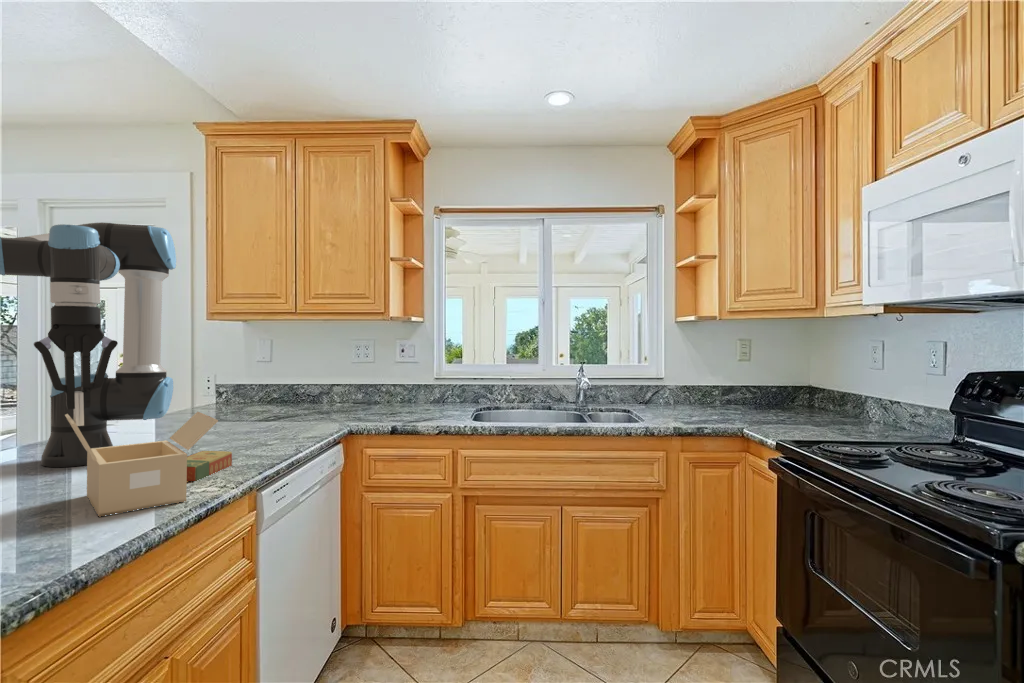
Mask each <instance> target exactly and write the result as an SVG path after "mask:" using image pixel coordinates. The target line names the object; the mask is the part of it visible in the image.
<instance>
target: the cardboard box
mask: <svg viewBox="0 0 1024 683" xmlns="http://www.w3.org/2000/svg"><path fill="white" fill-rule="evenodd" d="M91 450H92V452H93V453H94V455H95V457H96V458H97V460H96V461H94V460H93V459H92V458H91V456H90V455H89V453H88V452H87V465H86V468H87V469H86V497H87V499H88V498H89V499H88V500H90V501H89V502H90V504H91V506H92V508H93V507H94V508H93V510H94V509H95V510H94V511H96V512H95V513H96V515H97V514H98V515H97V517H98V516H99V517H100V518H102V517H101V516H105V515H110V514H115V513H122V514H124V513H123V512H127V511H133V510H137V509H142V508H143V509H144V508H149V507H154V506H160V505H165V504H171V503H177V504H180V503H179V502H183V503H185V502H184V501H186V502H187V485H188V484H187V483H188V482H187V456H188V453H186V452H184V451H183V450H182V449H181V448H178V447H177V446H176V445H174V444H173V443H171V442H170V441H168V440H158V441H150V442H140V443H131V444H121V445H113V446H110V447H101V448H91ZM149 509H150V508H149ZM144 510H145V509H144ZM133 512H134V511H133ZM127 513H128V512H127ZM99 517H98V518H99ZM105 517H106V516H105Z"/></svg>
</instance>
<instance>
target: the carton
mask: <svg viewBox="0 0 1024 683" xmlns="http://www.w3.org/2000/svg"><path fill="white" fill-rule="evenodd" d="M232 464H233V453H232V451H226V450H225V451H224V450H223V451H222V450H201V451H199V452H195V453H193V454H190V455H187V481H197V480H199V479H201V480H203V479H205V478H207V477H206V476H208V477H210V476H212V475H214V474H216V473H219V472H221V471H223V470H225V469H227V468H229V466H230V467H232V466H233V465H232ZM222 469H223V470H222ZM220 470H221V471H220ZM218 471H219V472H218ZM215 472H216V473H215ZM213 473H214V474H213ZM211 474H212V475H211ZM209 475H210V476H209ZM204 477H205V478H204ZM202 478H203V479H202ZM199 481H200V480H199ZM197 482H198V481H197Z"/></svg>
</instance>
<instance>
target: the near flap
mask: <svg viewBox="0 0 1024 683" xmlns="http://www.w3.org/2000/svg"><path fill="white" fill-rule="evenodd" d="M65 416H66V418H67V420H68V421H69V423H70V425H71V426H72V428H73V430H74V431H75V433H76V435H77V436H78V438H79V440H80V441H81V443H82V445H83V446H84V448H85V449H86V451H87V452H88V453H89V455H90V456H91V458H92V459H93V460H94V461H96V460H97V458H96V457H95V455H94V453H93V452H92V450H91V448H90V447H89V445H88V443H87V442H86V440H85V438H84V437H83V435H82V433H81V432H80V430H79V428H78V426H77V425H76V423H75V422H74V421H73V420H72V418H71V417H70V416H69V415H68V414H65Z"/></svg>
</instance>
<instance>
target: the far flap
mask: <svg viewBox="0 0 1024 683" xmlns="http://www.w3.org/2000/svg"><path fill="white" fill-rule="evenodd" d="M218 422H219V420H218V419H217V418H215V417H212V416H210V415H207V414H205V413H202V412H200V411H197V412H196V413H194V414H193V415H192V416H191V417H190V418H189V419H188V420H187V421H186V422H185V423H184V424H183V425H182V426H181V427H180V428H178V429H177V431H175V432H174V433H173V434H172V435H171V436H170V437H169V439H171V440H172V441H173V442H175V443H176V444H178V445H179V446H181V447H182V448H184V449H185V450H187V451H189V450H190V449H192V447H194V445H196V444H197V442H199V440H201V439H202V437H204V435H206V434H207V433H208V431H210V430H211V429H212V428H213V427H214V426H215V425H216V424H217V423H218Z"/></svg>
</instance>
